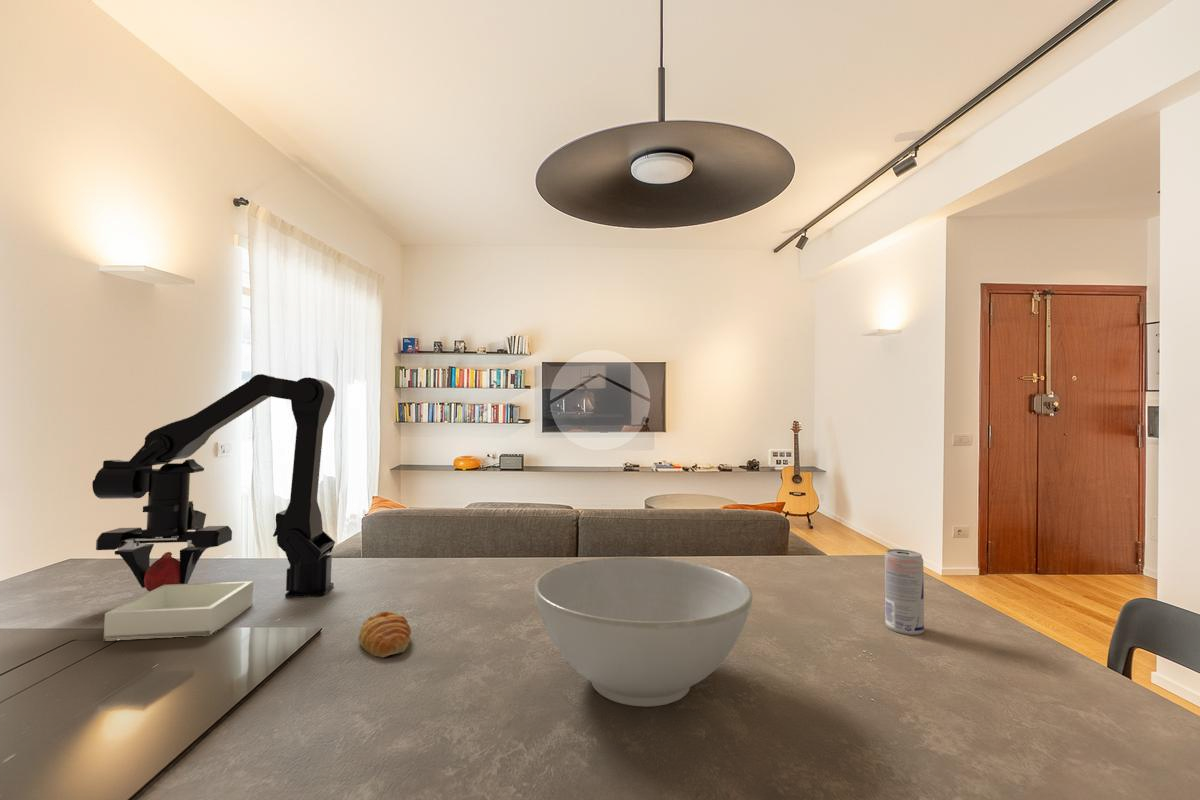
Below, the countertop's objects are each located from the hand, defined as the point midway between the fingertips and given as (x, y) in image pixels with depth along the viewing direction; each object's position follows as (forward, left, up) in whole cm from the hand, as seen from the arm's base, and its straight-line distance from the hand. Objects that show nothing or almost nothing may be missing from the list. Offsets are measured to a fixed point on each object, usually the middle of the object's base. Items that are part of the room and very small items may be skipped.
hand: (164, 586), depth 95 cm
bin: (-10, +13, -2) cm, 17 cm away
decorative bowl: (-76, +43, -2) cm, 87 cm away
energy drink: (-122, +33, -2) cm, 126 cm away
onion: (0, 0, -2) cm, 2 cm away
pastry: (-43, +26, -2) cm, 50 cm away
